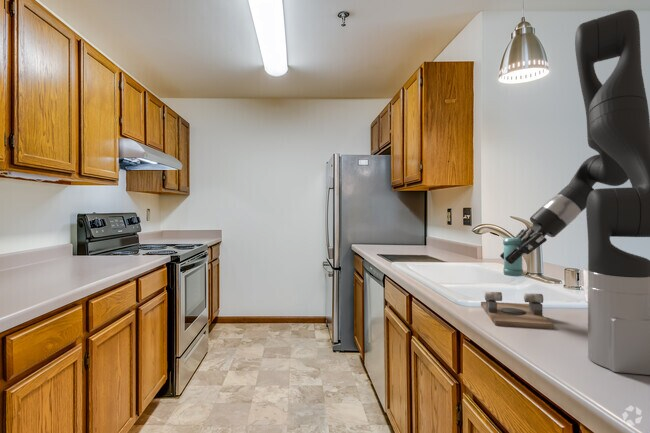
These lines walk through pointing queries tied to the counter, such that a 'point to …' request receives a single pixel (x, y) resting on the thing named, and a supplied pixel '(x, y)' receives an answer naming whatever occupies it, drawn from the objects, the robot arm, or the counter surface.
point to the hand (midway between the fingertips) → (505, 259)
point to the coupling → (516, 267)
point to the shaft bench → (516, 311)
